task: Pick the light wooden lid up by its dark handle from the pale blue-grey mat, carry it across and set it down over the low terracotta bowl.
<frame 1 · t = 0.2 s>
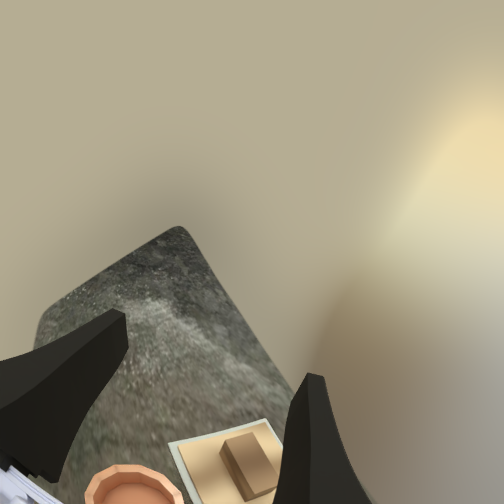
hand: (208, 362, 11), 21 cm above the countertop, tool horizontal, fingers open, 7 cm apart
lid: (242, 475, 24), resting on mat
mat: (241, 476, 24), on the countertop
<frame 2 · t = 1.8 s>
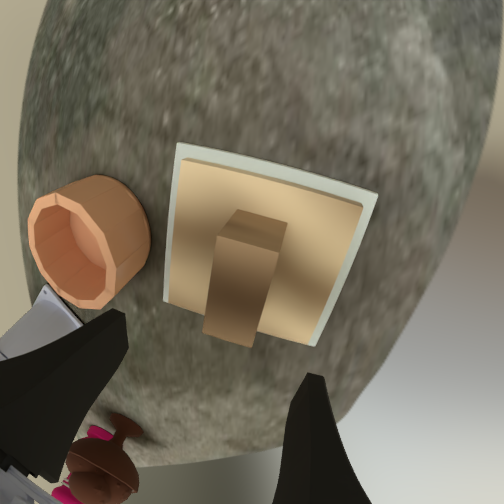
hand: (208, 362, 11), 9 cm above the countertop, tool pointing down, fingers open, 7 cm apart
ice cream bowl: (127, 423, 36), on the countertop
pepper mill: (106, 434, 41), on the countertop
lid: (253, 256, 18), resting on mat
mat: (255, 253, 19), on the countertop
bowl: (105, 227, 20), on the countertop
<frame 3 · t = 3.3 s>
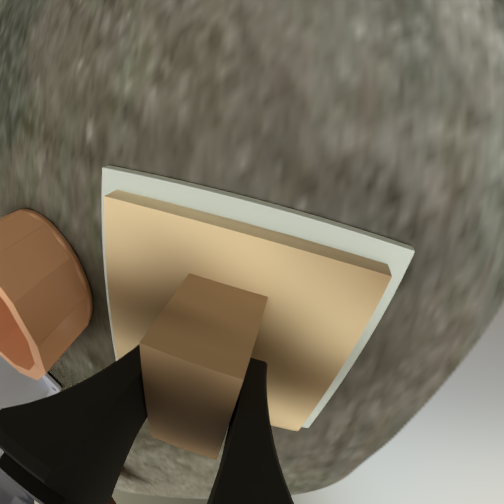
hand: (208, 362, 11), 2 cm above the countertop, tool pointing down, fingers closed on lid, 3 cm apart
lid: (222, 331, 12), resting on mat, touching gripper
mat: (224, 325, 13), on the countertop
bowl: (42, 274, 14), on the countertop
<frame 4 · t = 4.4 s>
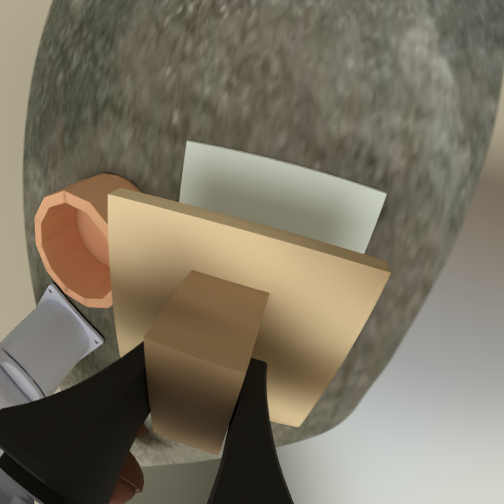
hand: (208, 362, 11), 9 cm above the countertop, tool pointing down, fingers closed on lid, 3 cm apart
ice cream bowl: (131, 422, 36), on the countertop
lid: (223, 328, 13), point 7 cm above the countertop, touching gripper
mat: (264, 252, 19), on the countertop
bowl: (113, 226, 20), on the countertop
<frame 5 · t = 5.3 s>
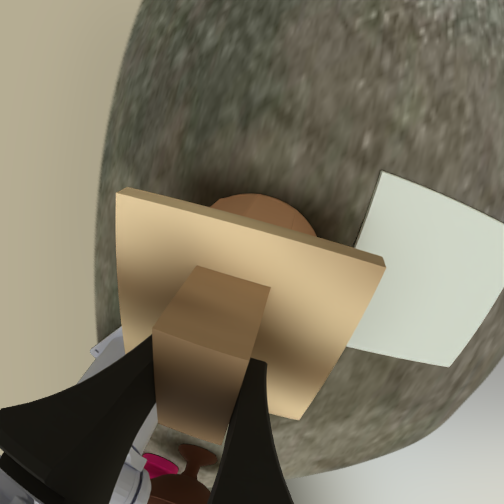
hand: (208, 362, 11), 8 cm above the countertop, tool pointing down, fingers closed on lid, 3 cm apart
ice cream bowl: (198, 452, 33), on the countertop
pepper mill: (161, 461, 39), on the countertop
lid: (226, 322, 13), point 6 cm above the countertop, touching gripper
mat: (428, 288, 16), on the countertop
bowl: (253, 258, 18), on the countertop
when the fingers open (7 cm above the countertop, at t = 5.7 s): lid stays where it is, resting on bowl.
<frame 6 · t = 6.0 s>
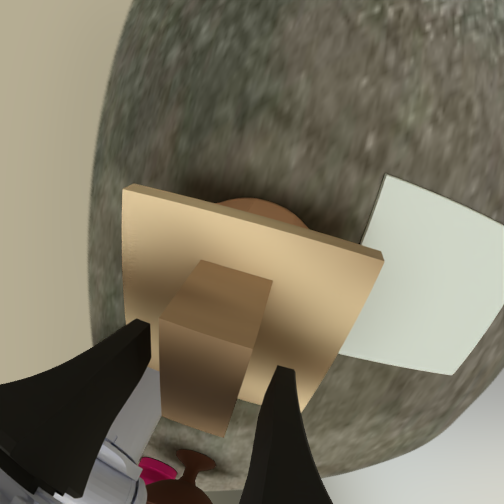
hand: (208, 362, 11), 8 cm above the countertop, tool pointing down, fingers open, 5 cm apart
ice cream bowl: (196, 457, 33), on the countertop
pepper mill: (159, 465, 38), on the countertop
lid: (229, 316, 13), point 4 cm above the countertop, touching bowl
mat: (432, 296, 16), on the countertop
bowl: (250, 265, 17), on the countertop
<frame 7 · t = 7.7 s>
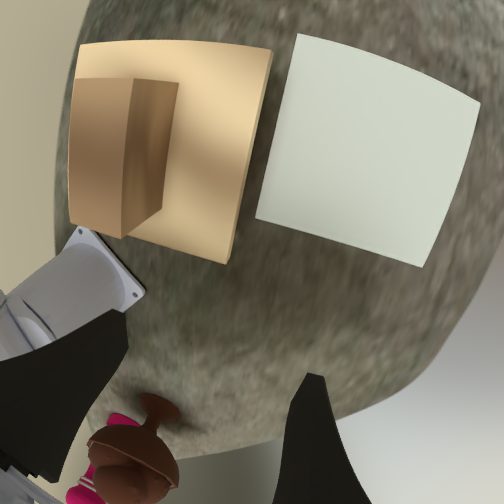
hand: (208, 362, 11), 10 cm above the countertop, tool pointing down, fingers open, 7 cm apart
ice cream bowl: (160, 406, 33), on the countertop
pepper mill: (129, 424, 38), on the countertop
lid: (150, 140, 13), point 4 cm above the countertop, touching bowl
mat: (373, 153, 16), on the countertop
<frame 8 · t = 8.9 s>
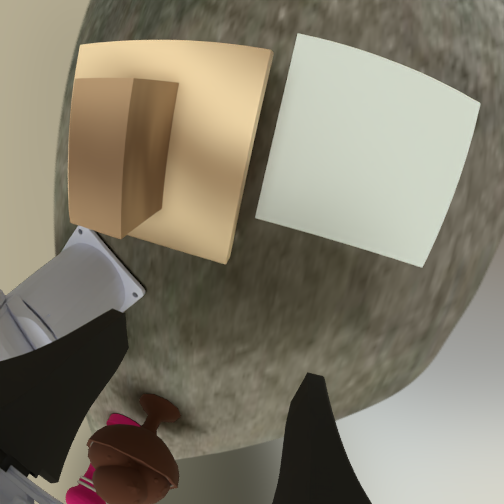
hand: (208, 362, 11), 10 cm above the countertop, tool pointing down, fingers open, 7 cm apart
ice cream bowl: (160, 406, 33), on the countertop
pepper mill: (129, 424, 38), on the countertop
lid: (150, 140, 13), point 4 cm above the countertop, touching bowl
mat: (373, 153, 16), on the countertop
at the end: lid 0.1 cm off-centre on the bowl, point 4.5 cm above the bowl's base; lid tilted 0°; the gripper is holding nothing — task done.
